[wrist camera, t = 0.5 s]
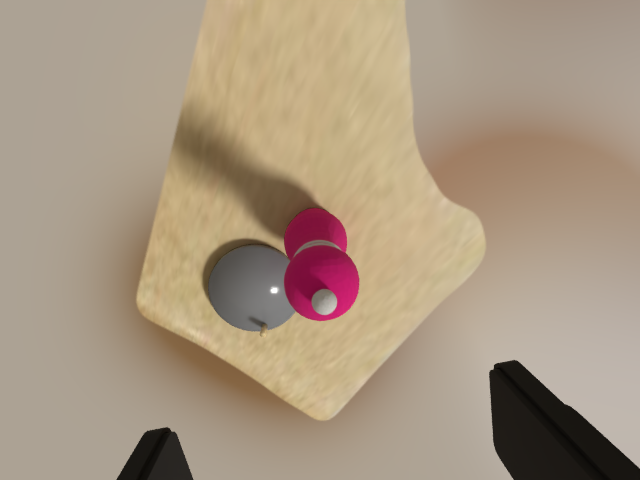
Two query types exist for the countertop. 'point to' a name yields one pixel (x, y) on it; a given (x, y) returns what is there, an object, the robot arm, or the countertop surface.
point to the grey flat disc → (251, 288)
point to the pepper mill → (319, 266)
